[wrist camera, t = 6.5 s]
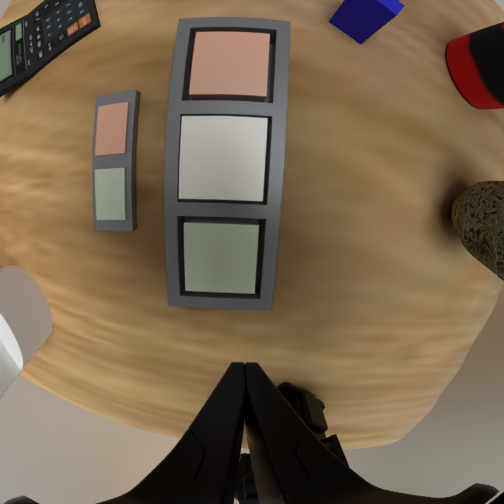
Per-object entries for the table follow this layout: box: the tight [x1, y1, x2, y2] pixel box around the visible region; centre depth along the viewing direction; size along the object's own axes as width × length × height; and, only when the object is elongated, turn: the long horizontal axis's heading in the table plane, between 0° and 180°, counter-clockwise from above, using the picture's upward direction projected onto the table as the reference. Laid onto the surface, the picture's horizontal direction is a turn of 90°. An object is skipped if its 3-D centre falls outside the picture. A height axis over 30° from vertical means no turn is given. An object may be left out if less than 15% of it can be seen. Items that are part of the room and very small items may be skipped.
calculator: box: [0, 0, 101, 97], centre depth 11 cm, size 9×12×3 cm
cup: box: [449, 181, 504, 280], centre depth 16 cm, size 8×7×8 cm
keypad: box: [164, 17, 290, 310], centre depth 16 cm, size 20×8×3 cm, turn 177°
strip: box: [92, 90, 140, 232], centre depth 16 cm, size 10×3×1 cm, turn 177°
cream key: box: [179, 116, 268, 201], centre depth 14 cm, size 4×4×2 cm
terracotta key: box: [189, 32, 270, 102], centre depth 14 cm, size 4×4×2 cm
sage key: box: [184, 216, 259, 294], centre depth 18 cm, size 4×4×2 cm
